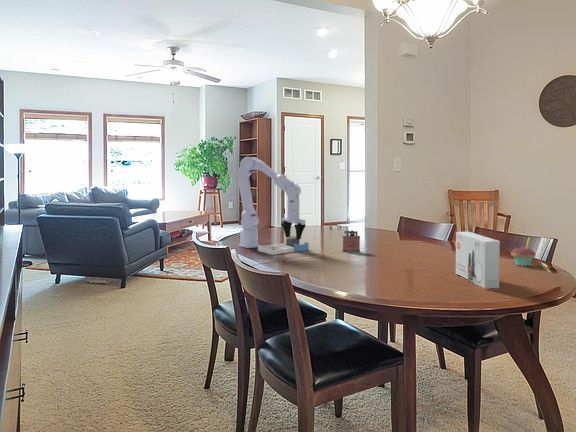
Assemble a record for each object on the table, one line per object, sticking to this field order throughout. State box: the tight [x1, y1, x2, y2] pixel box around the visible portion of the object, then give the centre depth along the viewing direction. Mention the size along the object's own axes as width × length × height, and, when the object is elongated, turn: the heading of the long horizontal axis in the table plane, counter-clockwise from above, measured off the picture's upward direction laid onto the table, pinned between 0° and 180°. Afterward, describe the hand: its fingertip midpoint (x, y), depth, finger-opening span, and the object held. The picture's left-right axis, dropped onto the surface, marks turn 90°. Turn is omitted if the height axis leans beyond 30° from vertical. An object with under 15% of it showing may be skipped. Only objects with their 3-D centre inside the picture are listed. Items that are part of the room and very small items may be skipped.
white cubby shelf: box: [257, 241, 310, 256], centre depth 213 cm, size 13×21×4 cm, turn 127°
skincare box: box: [455, 231, 501, 289], centre depth 153 cm, size 21×5×16 cm, turn 5°
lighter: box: [341, 229, 361, 254], centre depth 209 cm, size 8×3×10 cm, turn 84°
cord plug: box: [285, 235, 300, 247], centre depth 216 cm, size 4×5×6 cm
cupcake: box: [510, 235, 536, 266], centre depth 179 cm, size 9×8×12 cm
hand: (293, 238), depth 216 cm, fingers open, 7 cm apart
